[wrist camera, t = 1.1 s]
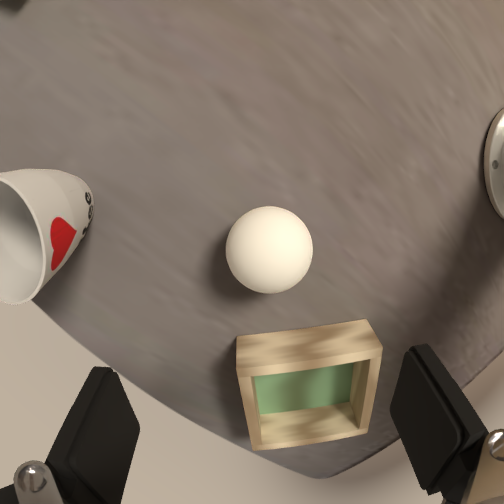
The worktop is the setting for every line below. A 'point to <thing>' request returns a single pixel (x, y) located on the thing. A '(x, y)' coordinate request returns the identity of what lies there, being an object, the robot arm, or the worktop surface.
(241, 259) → the ball
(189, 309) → the worktop surface
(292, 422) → the wooden square tray
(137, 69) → the worktop surface
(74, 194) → the cup
